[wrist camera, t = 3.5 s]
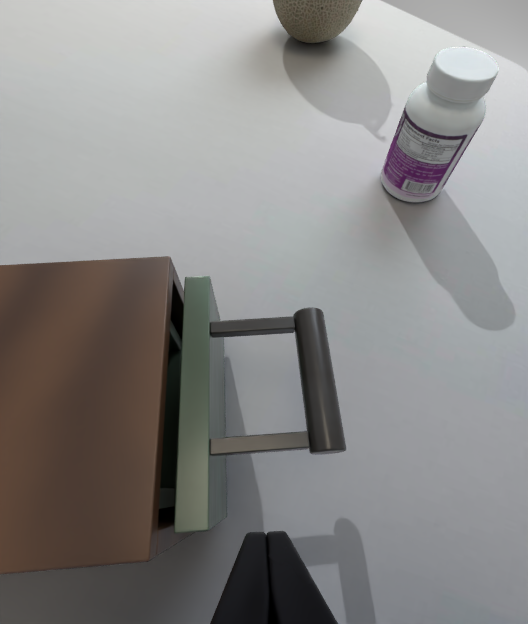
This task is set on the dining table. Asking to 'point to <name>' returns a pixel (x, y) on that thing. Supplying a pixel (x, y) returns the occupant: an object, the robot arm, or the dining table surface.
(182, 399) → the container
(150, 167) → the dining table surface
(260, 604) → the robot arm
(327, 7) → the fruit
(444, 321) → the dining table surface
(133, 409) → the storage unit
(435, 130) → the pill bottle
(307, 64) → the dining table surface
